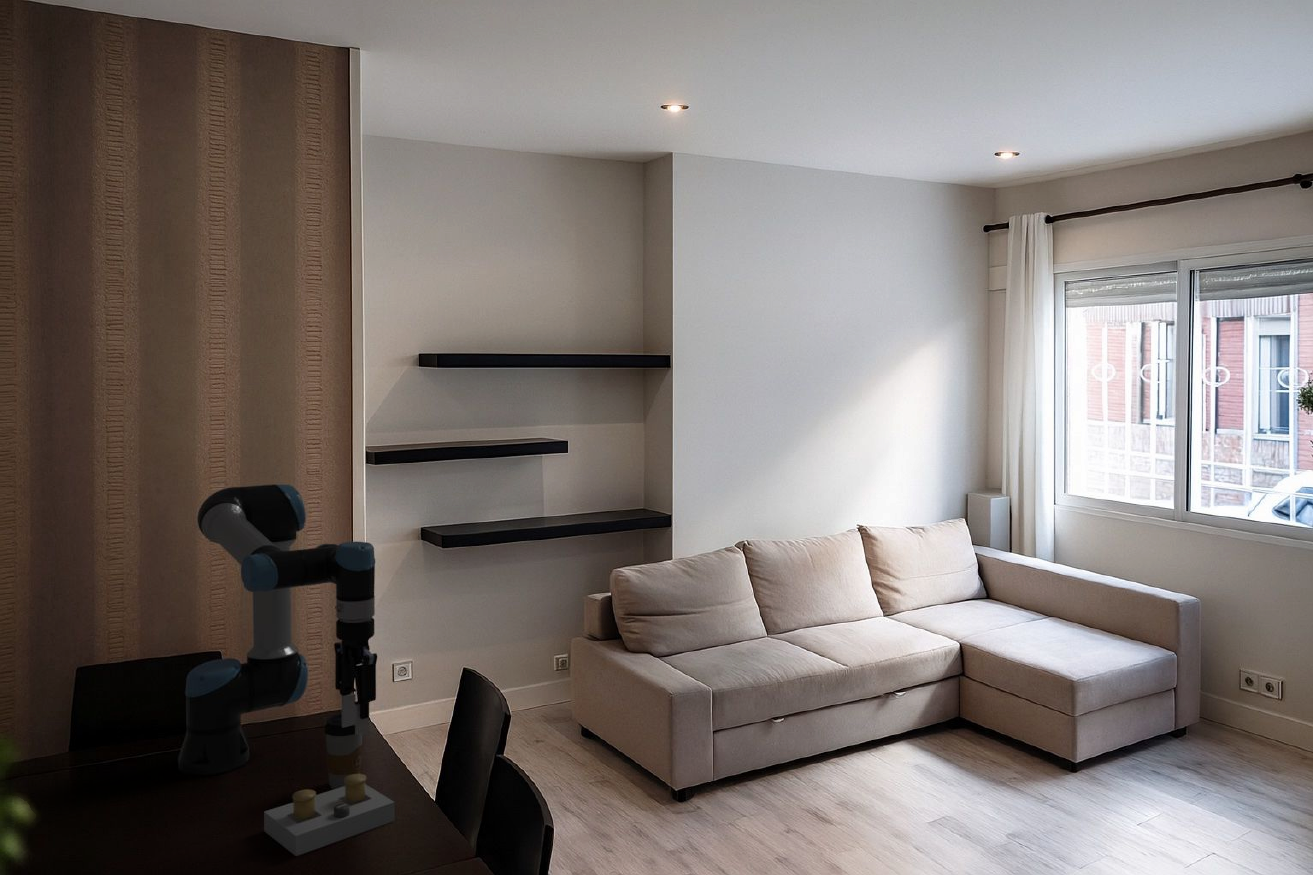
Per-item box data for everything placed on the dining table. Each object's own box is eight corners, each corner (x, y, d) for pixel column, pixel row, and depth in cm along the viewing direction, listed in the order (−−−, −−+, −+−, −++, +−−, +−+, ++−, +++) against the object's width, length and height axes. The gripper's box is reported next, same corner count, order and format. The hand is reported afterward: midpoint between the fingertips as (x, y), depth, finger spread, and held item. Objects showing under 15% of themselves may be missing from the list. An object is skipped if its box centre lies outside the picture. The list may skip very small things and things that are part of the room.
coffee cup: (351, 794, 207) (351, 727, 206) (317, 790, 209) (317, 724, 208) (370, 779, 215) (370, 714, 214) (337, 775, 217) (337, 711, 216)
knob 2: (340, 796, 196) (340, 778, 196) (359, 790, 199) (359, 772, 199) (350, 803, 193) (350, 784, 193) (370, 797, 196) (370, 778, 196)
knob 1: (288, 813, 188) (288, 793, 188) (309, 806, 191) (309, 787, 191) (298, 821, 185) (298, 801, 185) (319, 813, 188) (319, 794, 188)
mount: (264, 830, 190) (264, 802, 189) (360, 799, 205) (360, 772, 205) (296, 856, 180) (295, 826, 180) (394, 820, 195) (394, 793, 195)
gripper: (317, 613, 197) (317, 722, 199) (360, 630, 185) (360, 746, 186) (350, 607, 203) (350, 713, 204) (394, 623, 190) (394, 736, 192)
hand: (355, 728), depth 195 cm, fingers open, 5 cm apart
